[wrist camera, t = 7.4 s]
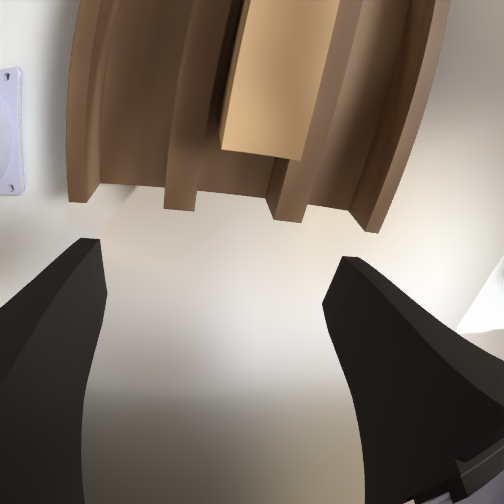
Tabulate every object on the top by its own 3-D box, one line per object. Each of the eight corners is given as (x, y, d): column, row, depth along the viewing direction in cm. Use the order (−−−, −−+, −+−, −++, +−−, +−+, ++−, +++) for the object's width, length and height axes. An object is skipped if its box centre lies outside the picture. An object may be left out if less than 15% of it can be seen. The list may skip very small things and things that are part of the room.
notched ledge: (87, 178, 16) (69, 202, 13) (129, -81, 7) (116, -102, 4) (357, 209, 19) (378, 233, 17) (421, -11, 11) (452, -15, 8)
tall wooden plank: (216, 122, 15) (221, 149, 11) (250, -36, 10) (269, -72, 6) (273, 130, 15) (300, 160, 11) (308, -23, 10) (349, -48, 6)
